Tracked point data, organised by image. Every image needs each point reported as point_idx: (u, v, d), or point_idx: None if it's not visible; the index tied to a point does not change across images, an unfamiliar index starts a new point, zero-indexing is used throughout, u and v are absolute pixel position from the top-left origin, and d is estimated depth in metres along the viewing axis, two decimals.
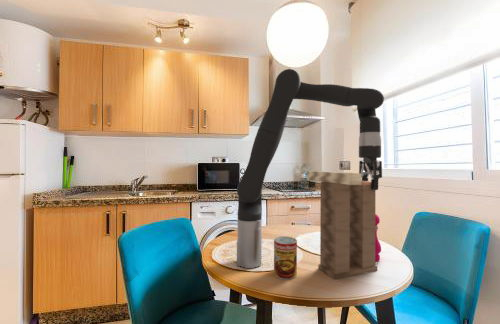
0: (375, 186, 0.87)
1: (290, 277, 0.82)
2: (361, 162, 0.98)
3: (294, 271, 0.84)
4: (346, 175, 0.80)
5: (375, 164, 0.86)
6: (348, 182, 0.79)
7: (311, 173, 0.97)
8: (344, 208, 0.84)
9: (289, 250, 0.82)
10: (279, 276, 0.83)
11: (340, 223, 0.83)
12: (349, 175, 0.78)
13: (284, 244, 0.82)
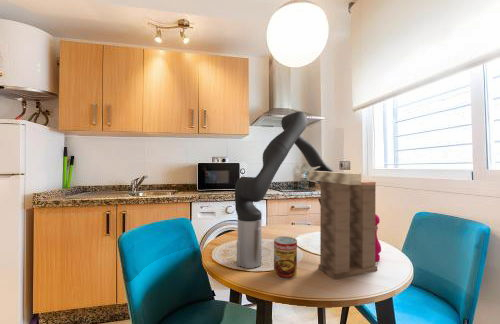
0: None
1: (290, 277, 0.82)
2: None
3: (294, 271, 0.84)
4: (346, 175, 0.80)
5: None
6: (348, 182, 0.79)
7: (311, 173, 0.97)
8: (344, 208, 0.84)
9: (289, 250, 0.82)
10: (279, 276, 0.83)
11: (340, 223, 0.83)
12: (349, 175, 0.78)
13: (284, 244, 0.82)
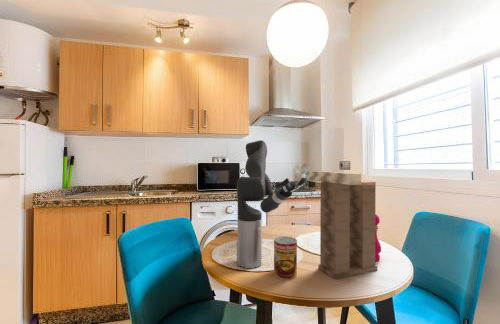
0: None
1: (290, 277, 0.82)
2: None
3: (294, 271, 0.84)
4: (346, 175, 0.80)
5: None
6: (348, 182, 0.79)
7: (311, 173, 0.97)
8: (344, 208, 0.84)
9: (289, 250, 0.82)
10: (279, 276, 0.83)
11: (340, 223, 0.83)
12: (349, 175, 0.78)
13: (284, 244, 0.82)
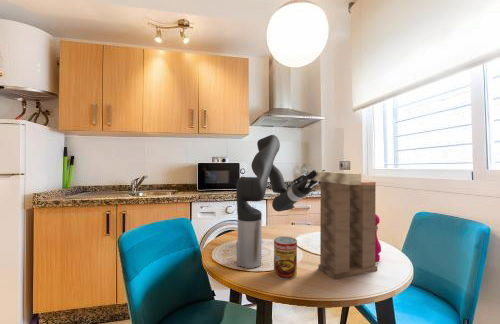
0: None
1: (290, 277, 0.82)
2: None
3: (294, 271, 0.84)
4: (346, 175, 0.79)
5: None
6: (348, 182, 0.79)
7: None
8: (344, 208, 0.84)
9: (289, 250, 0.82)
10: (279, 276, 0.83)
11: (340, 223, 0.83)
12: (349, 175, 0.78)
13: (284, 244, 0.82)
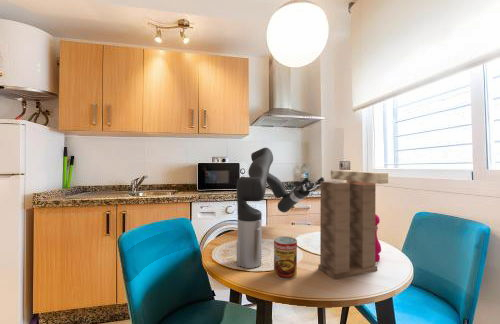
0: None
1: (290, 277, 0.82)
2: None
3: (294, 271, 0.84)
4: (373, 174, 0.84)
5: None
6: (376, 181, 0.83)
7: (336, 173, 1.01)
8: (344, 208, 0.84)
9: (289, 250, 0.82)
10: (279, 276, 0.83)
11: (340, 223, 0.83)
12: (377, 174, 0.83)
13: (284, 244, 0.82)
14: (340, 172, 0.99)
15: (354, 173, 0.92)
